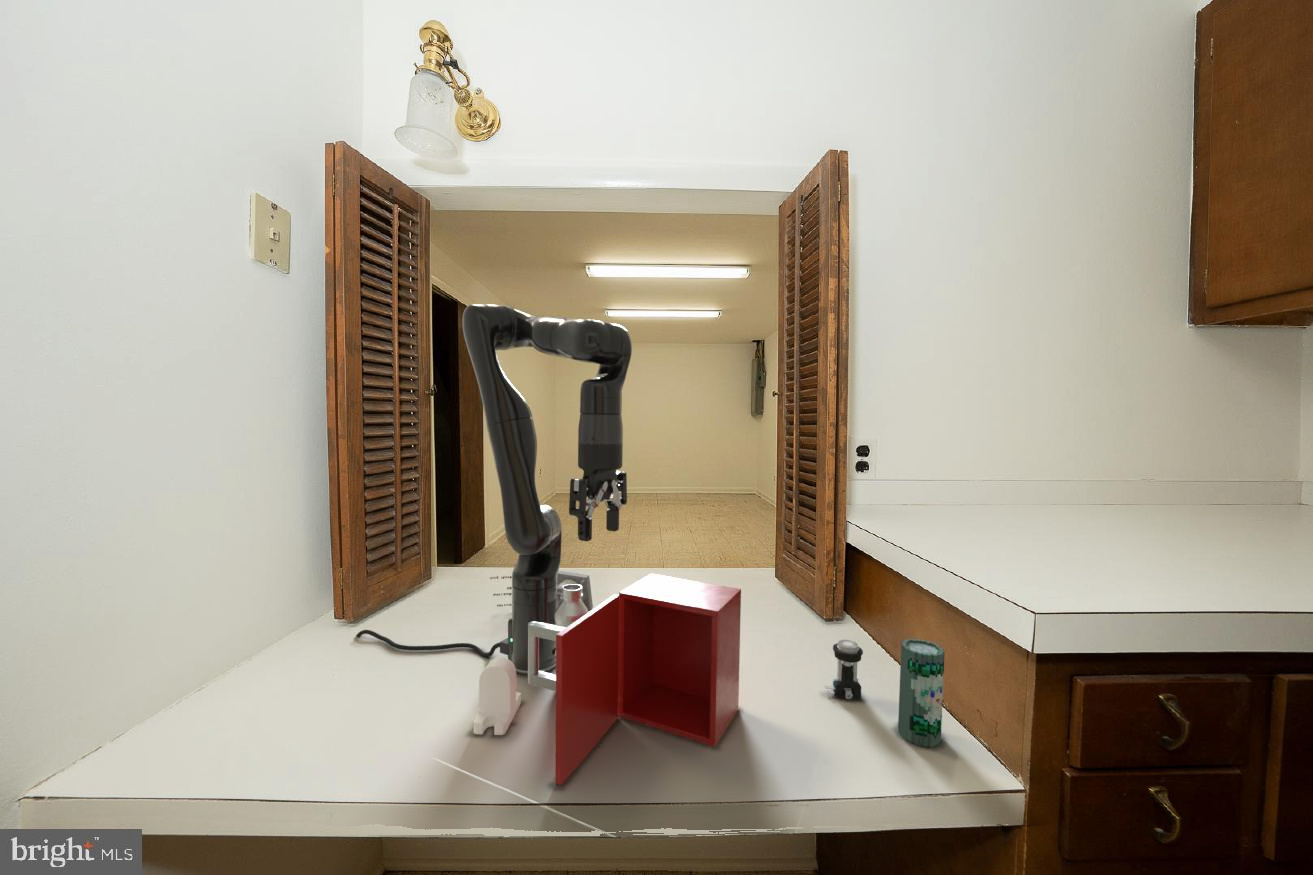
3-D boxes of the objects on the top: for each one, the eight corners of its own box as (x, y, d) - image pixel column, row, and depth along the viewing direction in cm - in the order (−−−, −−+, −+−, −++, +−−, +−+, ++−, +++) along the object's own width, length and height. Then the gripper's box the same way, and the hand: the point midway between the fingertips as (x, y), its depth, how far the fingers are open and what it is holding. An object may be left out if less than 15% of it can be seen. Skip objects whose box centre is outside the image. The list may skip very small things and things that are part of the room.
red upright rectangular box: (715, 747, 84) (717, 611, 83) (617, 716, 92) (619, 592, 91) (738, 709, 95) (741, 588, 94) (649, 684, 103) (651, 573, 102)
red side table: (518, 771, 78) (518, 626, 76) (581, 708, 94) (582, 588, 93) (561, 786, 75) (562, 635, 74) (618, 718, 91) (619, 594, 90)
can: (921, 750, 84) (925, 658, 83) (890, 728, 90) (894, 642, 89) (948, 741, 87) (952, 651, 86) (916, 720, 92) (920, 636, 91)
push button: (828, 702, 98) (830, 649, 97) (821, 687, 103) (822, 636, 103) (865, 703, 97) (867, 650, 97) (855, 688, 103) (857, 638, 102)
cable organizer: (472, 734, 86) (472, 674, 86) (492, 701, 96) (492, 647, 96) (504, 735, 86) (504, 675, 86) (521, 702, 96) (521, 648, 96)
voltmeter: (590, 602, 147) (591, 567, 146) (595, 618, 136) (595, 580, 135) (491, 608, 141) (491, 572, 141) (487, 625, 130) (486, 586, 129)
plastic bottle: (573, 704, 96) (574, 595, 95) (546, 693, 99) (546, 588, 98) (596, 688, 101) (597, 585, 100) (569, 678, 105) (570, 579, 104)
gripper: (595, 443, 82) (594, 547, 82) (640, 440, 94) (638, 530, 95) (556, 441, 85) (555, 541, 86) (604, 438, 98) (603, 525, 99)
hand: (599, 535), depth 91 cm, fingers open, 8 cm apart
